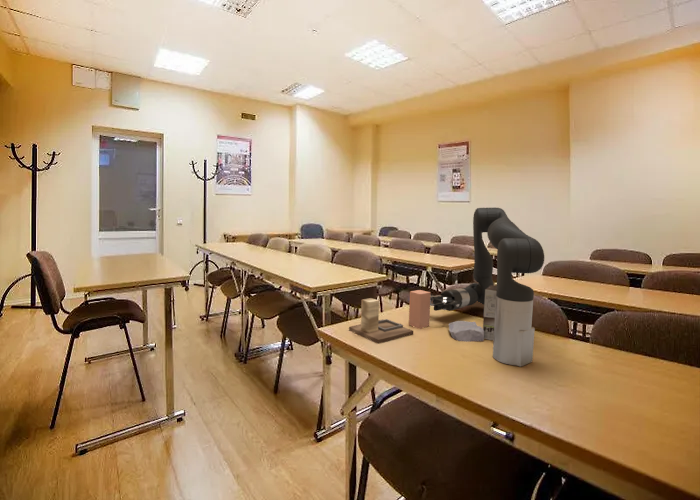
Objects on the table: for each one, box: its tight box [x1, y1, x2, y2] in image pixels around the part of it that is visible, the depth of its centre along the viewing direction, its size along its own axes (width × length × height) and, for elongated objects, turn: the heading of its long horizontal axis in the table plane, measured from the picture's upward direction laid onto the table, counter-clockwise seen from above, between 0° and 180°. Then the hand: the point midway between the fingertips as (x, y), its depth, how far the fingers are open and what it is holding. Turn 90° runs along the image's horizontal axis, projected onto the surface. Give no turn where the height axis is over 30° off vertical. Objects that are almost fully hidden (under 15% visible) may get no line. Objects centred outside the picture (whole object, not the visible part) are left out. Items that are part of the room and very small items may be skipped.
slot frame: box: [378, 318, 404, 332], centre depth 126 cm, size 8×8×1 cm
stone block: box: [448, 320, 485, 343], centre depth 122 cm, size 12×5×10 cm
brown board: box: [348, 319, 414, 345], centre depth 124 cm, size 15×15×1 cm
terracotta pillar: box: [408, 289, 431, 329], centre depth 131 cm, size 5×5×12 cm
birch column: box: [360, 297, 380, 333], centre depth 122 cm, size 4×4×10 cm
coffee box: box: [482, 284, 497, 341], centre depth 120 cm, size 9×6×16 cm
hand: (425, 304), depth 133 cm, fingers open, 8 cm apart
